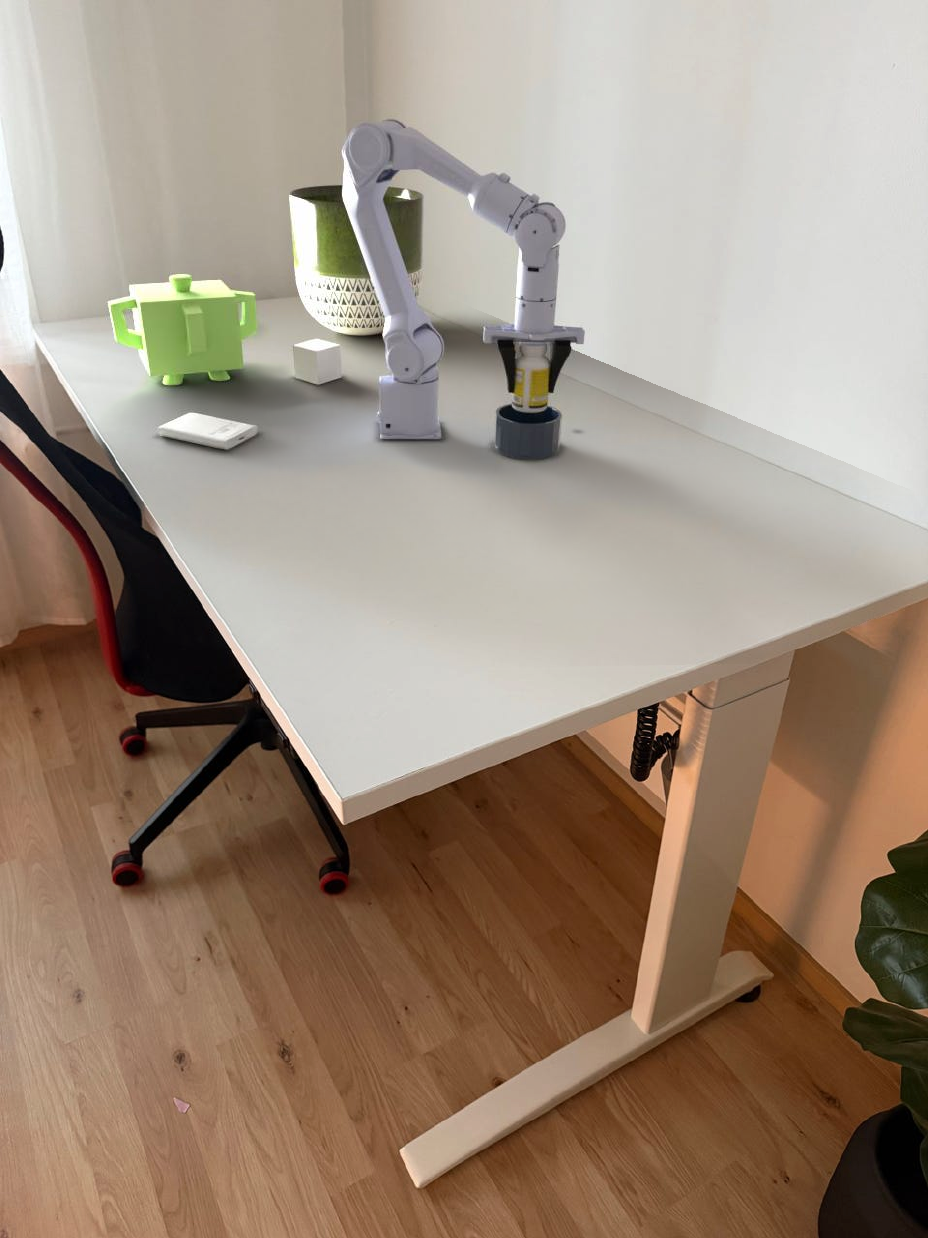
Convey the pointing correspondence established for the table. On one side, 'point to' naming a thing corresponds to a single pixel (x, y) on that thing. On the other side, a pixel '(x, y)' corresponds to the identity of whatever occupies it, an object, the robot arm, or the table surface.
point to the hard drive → (208, 430)
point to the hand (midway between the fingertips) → (530, 390)
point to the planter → (348, 256)
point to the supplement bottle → (531, 378)
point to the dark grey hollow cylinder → (527, 432)
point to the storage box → (186, 327)
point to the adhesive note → (317, 361)
